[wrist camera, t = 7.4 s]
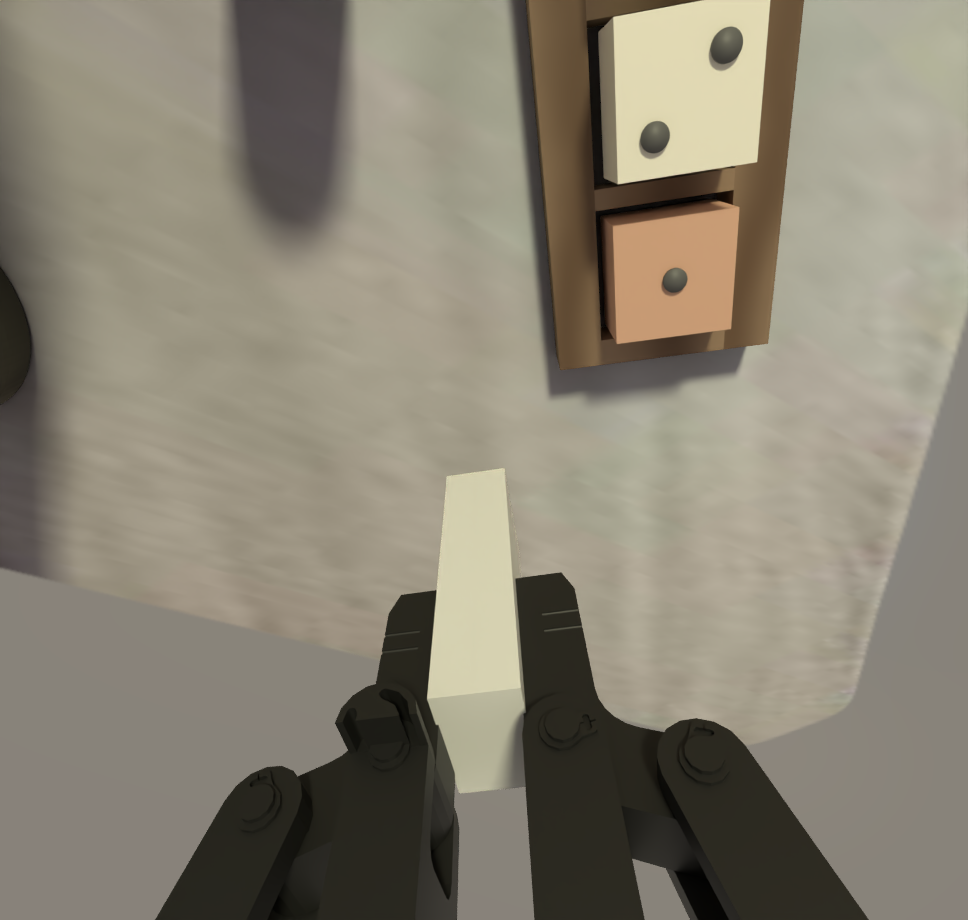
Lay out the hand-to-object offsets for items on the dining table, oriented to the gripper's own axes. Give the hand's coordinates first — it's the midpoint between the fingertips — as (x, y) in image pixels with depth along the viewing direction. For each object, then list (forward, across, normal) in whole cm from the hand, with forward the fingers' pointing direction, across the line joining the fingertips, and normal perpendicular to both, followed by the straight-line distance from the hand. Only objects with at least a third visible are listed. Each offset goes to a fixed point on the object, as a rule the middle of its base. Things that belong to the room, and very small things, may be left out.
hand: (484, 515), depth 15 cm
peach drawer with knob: (+21, +10, 0) cm, 24 cm away
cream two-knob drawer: (+20, +10, +8) cm, 24 cm away
